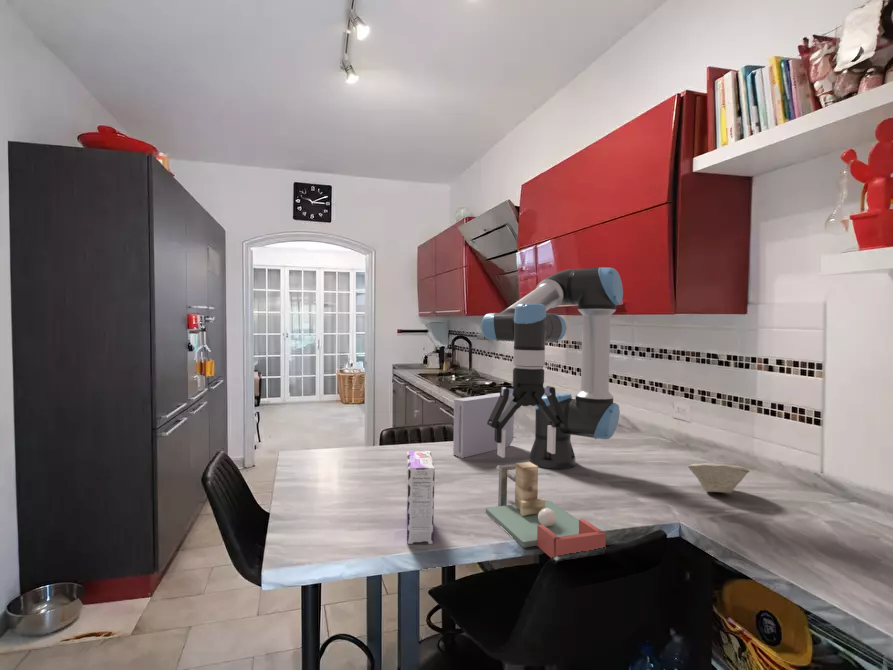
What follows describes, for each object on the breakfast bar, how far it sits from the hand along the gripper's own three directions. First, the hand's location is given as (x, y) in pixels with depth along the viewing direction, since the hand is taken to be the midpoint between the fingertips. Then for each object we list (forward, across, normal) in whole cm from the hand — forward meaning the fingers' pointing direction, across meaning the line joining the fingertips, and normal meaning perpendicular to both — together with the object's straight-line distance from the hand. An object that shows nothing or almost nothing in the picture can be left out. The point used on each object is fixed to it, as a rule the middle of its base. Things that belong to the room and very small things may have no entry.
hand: (526, 454), depth 121 cm
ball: (+12, 0, +10) cm, 15 cm away
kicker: (+13, 0, -6) cm, 15 cm away
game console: (+15, -14, -60) cm, 63 cm away
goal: (+15, 0, +19) cm, 24 cm away
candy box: (+16, +27, +1) cm, 31 cm away
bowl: (+15, -60, +1) cm, 62 cm away
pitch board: (+15, 0, +6) cm, 16 cm away
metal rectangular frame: (+15, 0, -7) cm, 17 cm away
